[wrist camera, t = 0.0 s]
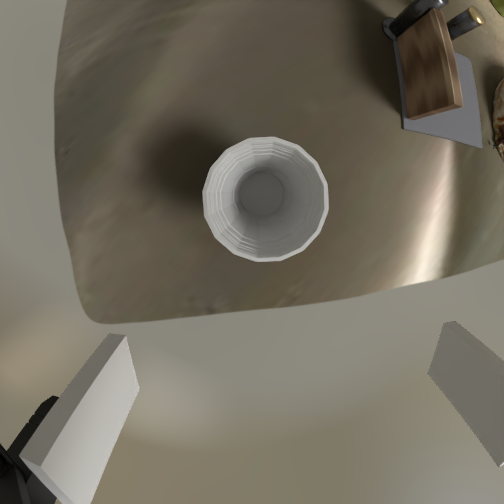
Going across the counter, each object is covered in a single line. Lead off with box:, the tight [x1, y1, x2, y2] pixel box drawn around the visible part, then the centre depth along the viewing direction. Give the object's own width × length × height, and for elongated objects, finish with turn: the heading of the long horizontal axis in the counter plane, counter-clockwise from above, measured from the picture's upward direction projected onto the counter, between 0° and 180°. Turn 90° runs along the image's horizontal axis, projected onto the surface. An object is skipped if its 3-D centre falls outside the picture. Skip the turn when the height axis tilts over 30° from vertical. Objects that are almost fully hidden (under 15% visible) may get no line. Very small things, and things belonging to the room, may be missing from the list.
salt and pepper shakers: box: [382, 0, 485, 42], centre depth 22 cm, size 7×14×13 cm, turn 90°
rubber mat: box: [393, 40, 482, 149], centre depth 31 cm, size 17×17×1 cm
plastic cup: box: [202, 137, 329, 262], centre depth 29 cm, size 11×11×12 cm
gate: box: [397, 8, 463, 120], centre depth 25 cm, size 14×1×11 cm, turn 0°
